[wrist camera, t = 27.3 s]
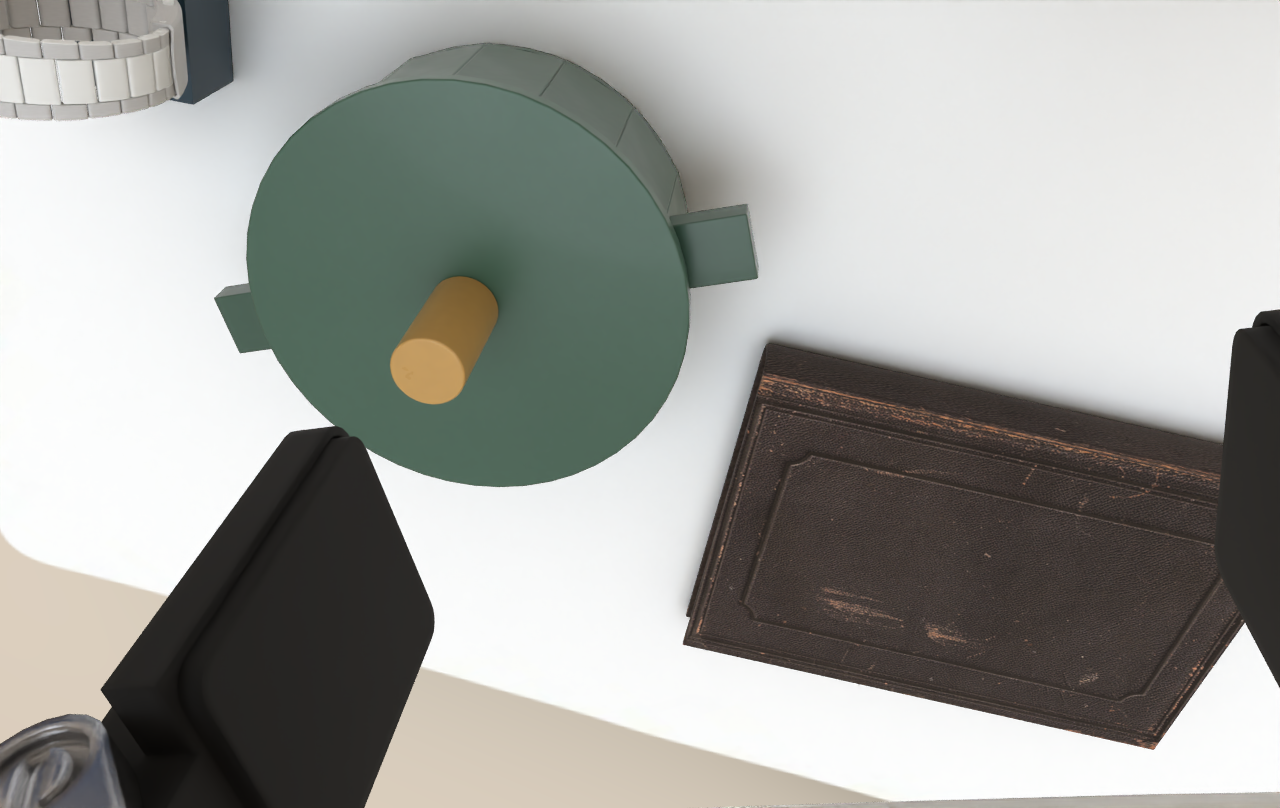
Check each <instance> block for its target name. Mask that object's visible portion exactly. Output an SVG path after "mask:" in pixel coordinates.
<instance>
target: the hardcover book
mask: <svg viewBox="0 0 1280 808" xmlns="http://www.w3.org/2000/svg"><path fill="white" fill-rule="evenodd" d="M1222 454H1223V445H1221V444H1217V443H1212V442H1208V441H1203V440H1199V439H1194V438H1190V437H1185V436H1181V435H1176V434H1172V433H1167V432H1163V431H1158V430H1154V429H1149V428H1145V427H1141V426H1136V425H1132V424H1127V423H1123V422H1118V421H1114V420H1109V419H1105V418H1100V417H1096V416H1091V415H1087V414H1082V413H1078V412H1073V411H1069V410H1064V409H1060V408H1055V407H1051V406H1047V405H1042V404H1038V403H1033V402H1029V401H1024V400H1020V399H1015V398H1011V397H1006V396H1002V395H997V394H993V393H988V392H984V391H979V390H975V389H970V388H966V387H962V386H957V385H953V384H948V383H944V382H939V381H935V380H930V379H926V378H921V377H917V376H912V375H908V374H903V373H899V372H894V371H890V370H885V369H881V368H877V367H872V366H868V365H863V364H859V363H854V362H850V361H845V360H841V359H836V358H832V357H827V356H823V355H818V354H814V353H809V352H805V351H800V350H796V349H791V348H787V347H783V346H778V345H774V344H767V345H766V346H765V348H764V350H763V354H762V357H761V361H760V364H759V367H758V371H757V374H756V378H755V381H754V385H753V388H752V391H751V395H750V398H749V402H748V405H747V408H746V412H745V415H744V419H743V422H742V425H741V429H740V432H739V436H738V439H737V442H736V446H735V449H734V453H733V456H732V460H731V463H730V466H729V470H728V473H727V477H726V480H725V483H724V487H723V490H722V494H721V497H720V500H719V504H718V507H717V511H716V514H715V517H714V521H713V524H712V528H711V531H710V535H709V538H708V541H707V545H706V548H705V552H704V555H703V558H702V562H701V565H700V569H699V572H698V575H697V579H696V582H695V586H694V589H693V592H692V596H691V599H690V603H689V606H688V609H687V613H686V616H687V617H690V620H689V623H688V627H687V630H686V633H685V637H684V640H683V645H687V646H691V647H696V648H700V649H705V650H709V651H714V652H718V653H723V654H727V655H732V656H736V657H740V658H745V659H749V660H754V661H758V662H763V663H767V664H772V665H776V666H781V667H785V668H790V669H794V670H799V671H803V672H808V673H812V674H817V675H821V676H825V677H830V678H834V679H839V680H843V681H848V682H852V683H857V684H861V685H866V686H870V687H875V688H879V689H884V690H888V691H893V692H897V693H902V694H906V695H911V696H915V697H919V698H924V699H928V700H933V701H937V702H942V703H946V704H951V705H955V706H960V707H964V708H969V709H973V710H978V711H982V712H987V713H991V714H996V715H1000V716H1005V717H1009V718H1013V719H1018V720H1022V721H1027V722H1031V723H1036V724H1040V725H1045V726H1049V727H1054V728H1058V729H1063V730H1067V731H1072V732H1076V733H1081V734H1085V735H1090V736H1094V737H1099V738H1103V739H1107V740H1112V741H1116V742H1121V743H1125V744H1130V745H1134V746H1139V747H1143V748H1148V749H1152V750H1154V749H1155V747H1156V746H1157V744H1158V743H1159V742H1160V740H1161V739H1162V738H1163V736H1164V735H1165V733H1166V732H1167V731H1168V729H1169V728H1170V726H1171V725H1172V724H1173V722H1174V721H1175V719H1176V718H1177V717H1178V715H1179V714H1180V712H1181V711H1182V710H1183V708H1184V707H1185V705H1186V704H1187V703H1188V701H1189V700H1190V698H1191V697H1192V696H1193V694H1194V693H1195V691H1196V690H1197V689H1198V687H1199V686H1200V684H1201V683H1202V682H1203V680H1204V679H1205V677H1206V676H1207V675H1208V673H1209V672H1210V670H1211V669H1212V668H1213V666H1214V665H1215V664H1216V662H1217V661H1218V659H1219V658H1220V657H1221V655H1222V654H1223V652H1224V651H1225V650H1226V648H1227V647H1228V645H1229V644H1230V643H1231V641H1232V640H1233V638H1234V637H1235V636H1236V634H1237V633H1238V631H1239V630H1240V629H1241V627H1242V626H1243V624H1244V623H1245V621H1244V619H1243V617H1242V616H1241V614H1240V612H1239V610H1238V608H1237V606H1236V604H1235V602H1234V600H1233V598H1232V597H1231V595H1230V593H1229V591H1228V589H1227V587H1226V585H1225V583H1224V581H1223V579H1222V577H1221V575H1220V572H1219V569H1218V566H1217V561H1216V556H1215V530H1216V519H1217V508H1218V497H1219V486H1220V475H1221V465H1222Z"/></svg>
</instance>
